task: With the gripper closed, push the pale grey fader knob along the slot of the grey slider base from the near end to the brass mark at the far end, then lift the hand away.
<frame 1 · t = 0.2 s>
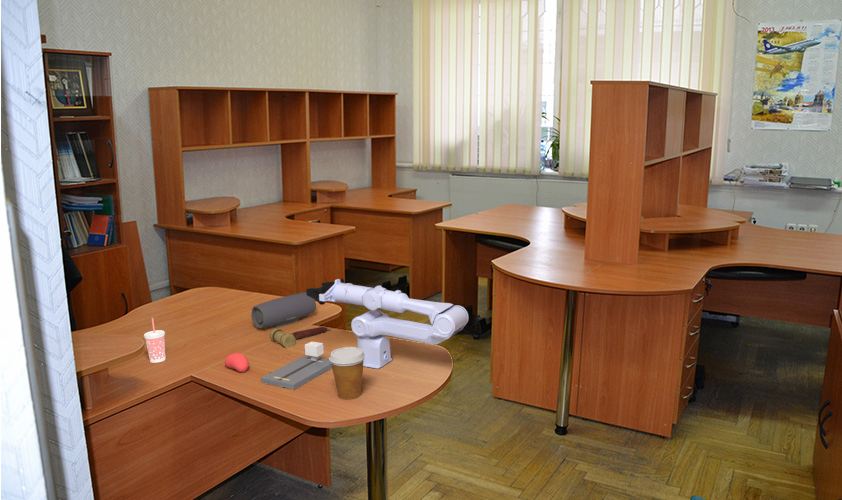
hand: (314, 288, 201), 21 cm above the table, fingers open, 7 cm apart
disposable coffee cup: (349, 395, 174), on the table
grey slider base: (300, 373, 190), on the table
gavel: (304, 339, 222), on the table
fader: (314, 351, 195), point 4 cm above the table, slide at -7.0 cm
bluetooth speaker: (285, 324, 238), on the table
beverage cup: (157, 360, 206), on the table
red kidney bean: (238, 370, 195), on the table
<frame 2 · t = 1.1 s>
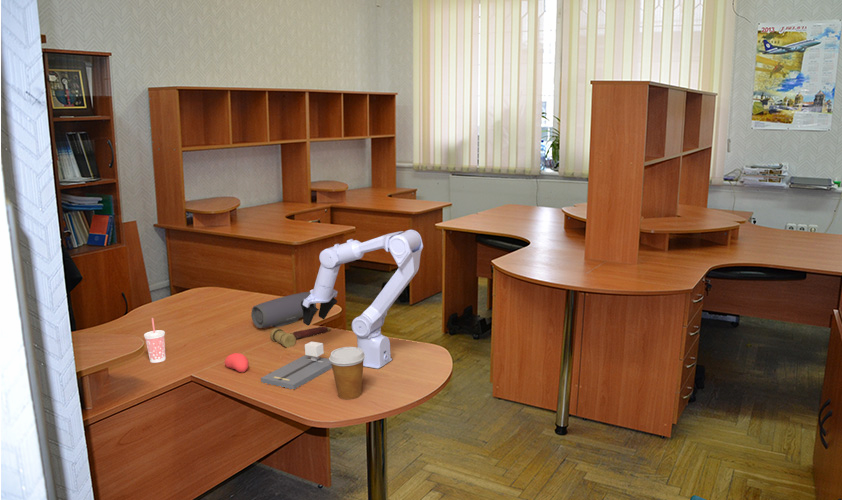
hand: (313, 320, 202), 11 cm above the table, fingers open, 7 cm apart
nothing on the table moved.
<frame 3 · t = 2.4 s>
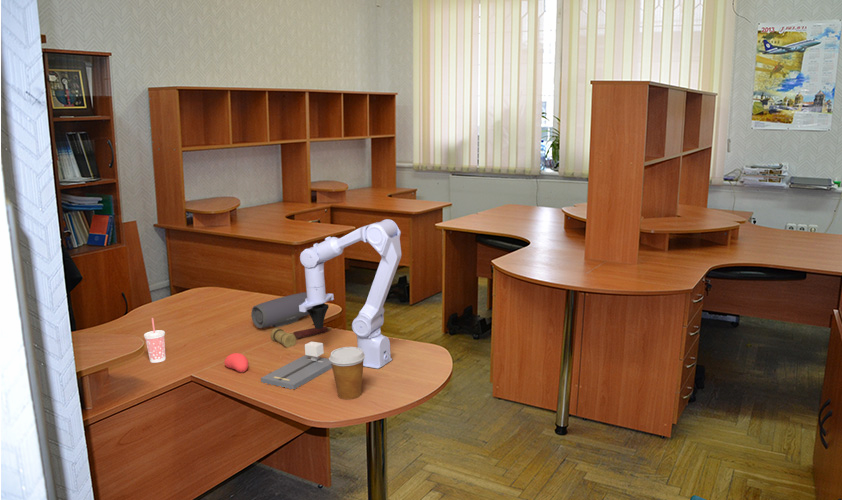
hand: (318, 327, 201), 9 cm above the table, fingers closed
nothing on the table moved.
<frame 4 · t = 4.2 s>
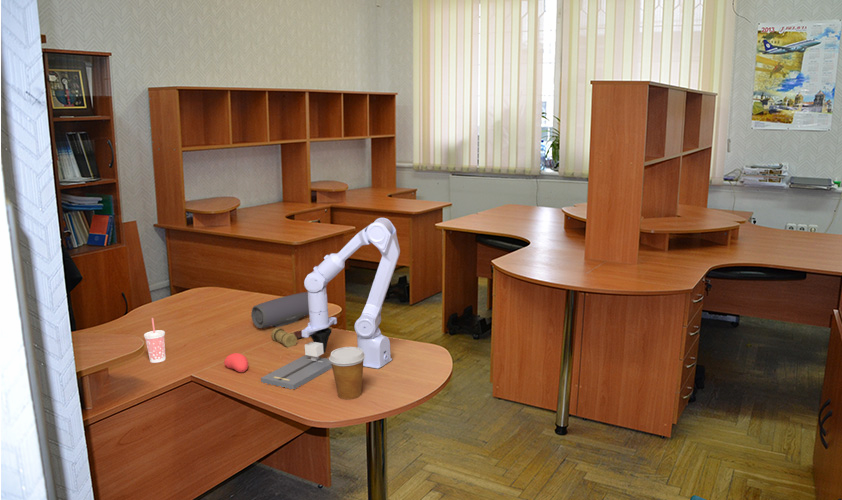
hand: (321, 352, 198), 3 cm above the table, fingers closed
fader: (314, 351, 195), point 4 cm above the table, slide at -7.0 cm, touching gripper
everything else where it was.
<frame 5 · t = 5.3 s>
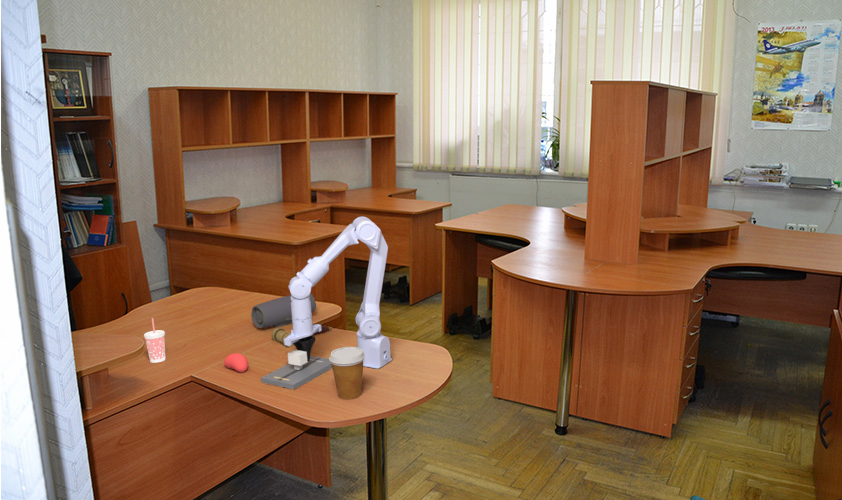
hand: (305, 361, 191), 3 cm above the table, fingers closed
fader: (297, 360, 188), point 4 cm above the table, slide at 0.7 cm, touching gripper
everything else where it was.
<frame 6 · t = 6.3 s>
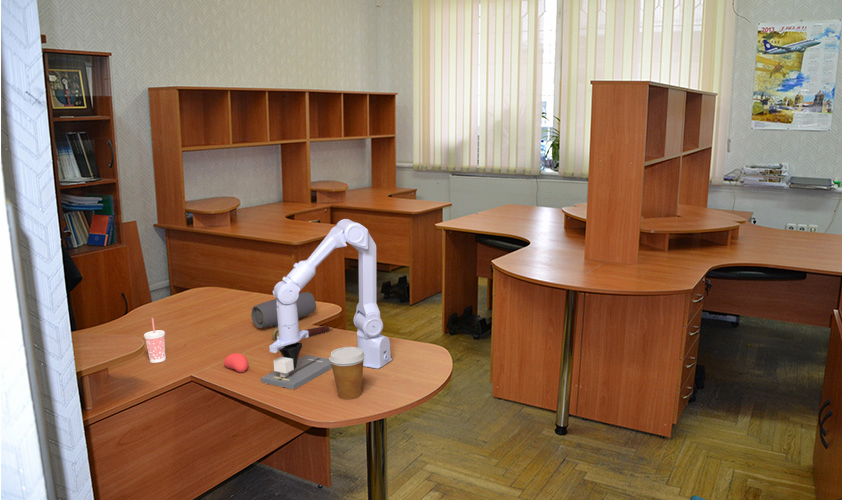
hand: (291, 368, 186), 3 cm above the table, fingers closed
fader: (283, 367, 183), point 4 cm above the table, slide at 6.8 cm, touching gripper
everything else where it was.
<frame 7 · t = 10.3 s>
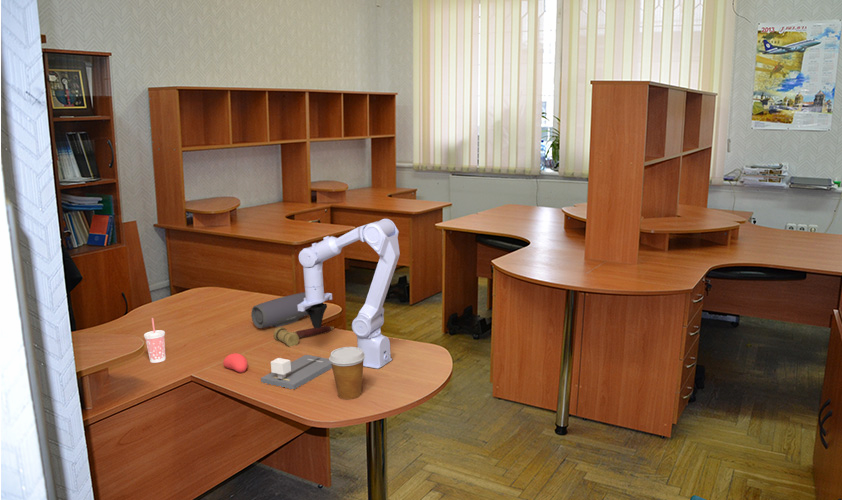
hand: (317, 327, 202), 9 cm above the table, fingers closed
fader: (281, 369, 182), point 4 cm above the table, slide at 7.9 cm
at the end: fader slide at 7.9 cm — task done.
